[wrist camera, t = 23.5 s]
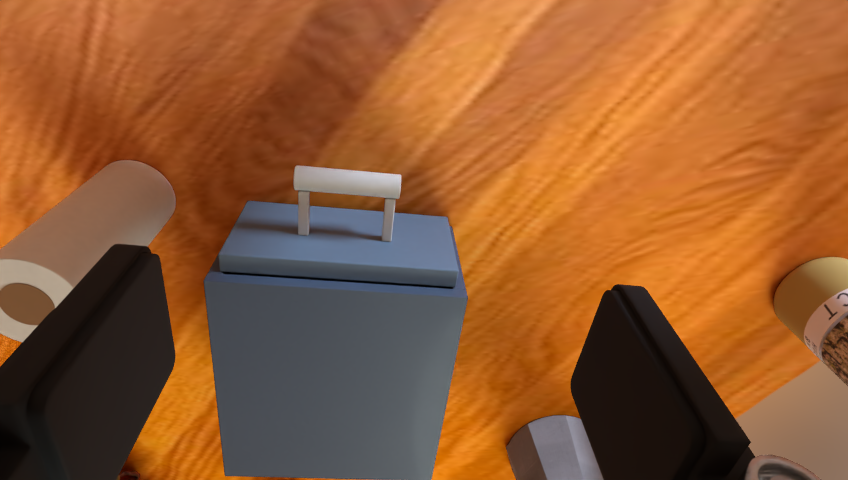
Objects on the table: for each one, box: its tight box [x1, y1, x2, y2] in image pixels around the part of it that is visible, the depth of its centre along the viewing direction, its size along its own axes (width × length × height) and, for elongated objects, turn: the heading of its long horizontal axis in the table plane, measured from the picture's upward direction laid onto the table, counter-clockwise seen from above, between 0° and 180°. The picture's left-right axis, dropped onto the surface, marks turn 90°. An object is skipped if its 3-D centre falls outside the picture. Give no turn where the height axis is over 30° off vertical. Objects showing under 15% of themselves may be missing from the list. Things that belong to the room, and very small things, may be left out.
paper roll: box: [0, 160, 176, 342], centre depth 29 cm, size 5×5×12 cm
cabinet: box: [204, 217, 468, 480], centre depth 36 cm, size 17×15×9 cm
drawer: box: [218, 165, 459, 288], centre depth 34 cm, size 20×13×7 cm
